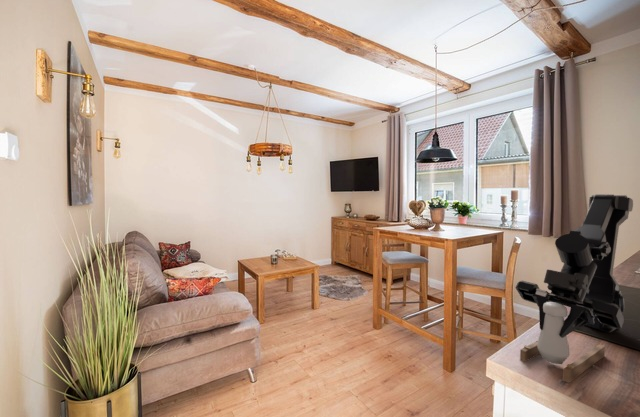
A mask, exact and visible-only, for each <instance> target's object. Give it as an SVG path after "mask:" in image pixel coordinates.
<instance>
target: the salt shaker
mask: <svg viewBox="0 0 640 417" xmlns="http://www.w3.org/2000/svg"><path fill="white" fill-rule="evenodd" d="M543 311H544V312H545V313H546V314H545V318H544V324H543V329H542V330H541V329H540V332H539V336H538V339H537V341H538V342H537V348H538V350H539V352H540V353H539V354H540V356H541V357H542V359H543V360H545V361H547V362H549V363H551V364H553V365H554V364H555V365H563V364H564V362H565V361H566V360H567V359H568V358H569V357H570V355H571V354H570V349H569V343H568V337H567V335H566V336H565V337H563V338H562V337H560V335H559V334H560V331H561V328H562V326H563V325H564V323H565V318H566V317H568V314H569V313H568V309H567V306H564V305H562V304H559V303H555V302H546V303H544V305H543Z"/></svg>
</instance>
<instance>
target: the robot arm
mask: <svg viewBox="0 0 640 417" xmlns="http://www.w3.org/2000/svg"><path fill="white" fill-rule="evenodd" d="M588 200H589V201H588V210H587V211H586V215H585V216H584V217H585V218H584V220H583V221H582V224H581V226H579V227H578V228H575V229H573V230H569V233H566V234H565V233H564V234H563V235H560V236H559V237H557V238H556V239H555V241H554V242H555V243H554V244H555V247H556V251H557V254H558V256H559V260H560V261H561V263H563V266H562V268H561V270H560V271H557V270H553V269H546V272H545V276H544V280H543V283H544V284H547V290H549V291H551V292H549V291H547V290H544V289H540V287H539V285H538V284H537V283H535V282H529V281H526V280H519V281H518V282H517V284H515V285H516V286H515V289H516V291H517V293H518V294H519V296H520V298H521V299H522V300H523V301H526V302H530V303H532V304H536V305H537V307H538V310H539V314H538V315H539V316H538V317H539V318H538V319H539V329H540V331H541V330H542V329H543V324H544V318H545V314H546V313H545V312H544V311H543V305H544V303H546V302H555V303H559V304H562V305H564V306H565V307H568V308H570V309H569V313H568V314H567V316H566V317H567V318H566V319H565V320H564V325H563V326H562V328H561V331H560V334H559V335H560V337H562V338H563V337H565V336H567V335H569V334H571V333H572V332H574V331H575V330H577V329H579V328H581V327H584V326H586V327H589V328H592V329H596V330H599V331H602V332H605V333H608V334H610V333H612V332H613V331H615V330H620V329H622V328H623V325H624V321H625V320H624V318H625V317H624V315H623V313H624V312H625V299H624V298H625V297H624V296H623V295H622V291H621V290H620V285H619V283H618V282H617V280H616V278H615V277H614V275H613V274H614V265H615V259H616V251H617V243H618V236H619V229H620V226H621V225H622V224H623V223H625V222H626V220H628V219H629V214H630V212H632V211H633V208H634V200H633V198H631V197H628V196H627V194H626V195H625V194H624V195H615V194H606V193H605V194H602V193H601V194H598V193H597V194H593V195H591V196H590V197H589V199H588Z"/></svg>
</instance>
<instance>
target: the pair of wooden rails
mask: <svg viewBox="0 0 640 417" xmlns="http://www.w3.org/2000/svg"><path fill="white" fill-rule="evenodd" d="M537 342H538V340H536V341H534V342H533V343H530V344H529V345H525V346H523V348H520V353H519V361H522V362H527V361H529V360H531V359H532V358H534V357H536V356H538V355H539V354H540V352H539V350H538V348H537ZM605 352H606V346H605V345H603V344H597V345H596V346H595V347H593V348H592V349H590V350H588V351H587V352H585V354H583V355H581V356H580V357H579V358H577V359H575V360H574V361H573V362H572V363H569V364H567V365H566V366H565V367H564V368H563V369H562V381H564V382H566V383H571V382H572V381H574V379H576V378H578V377H579V376H580V375H581V374H583V373H584V372H586V371H587V370H588V369H589V368H591V367H592V366H593V365H594V364H596V363H598V361H600V360H601V359H603V358H604V357H605Z"/></svg>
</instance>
